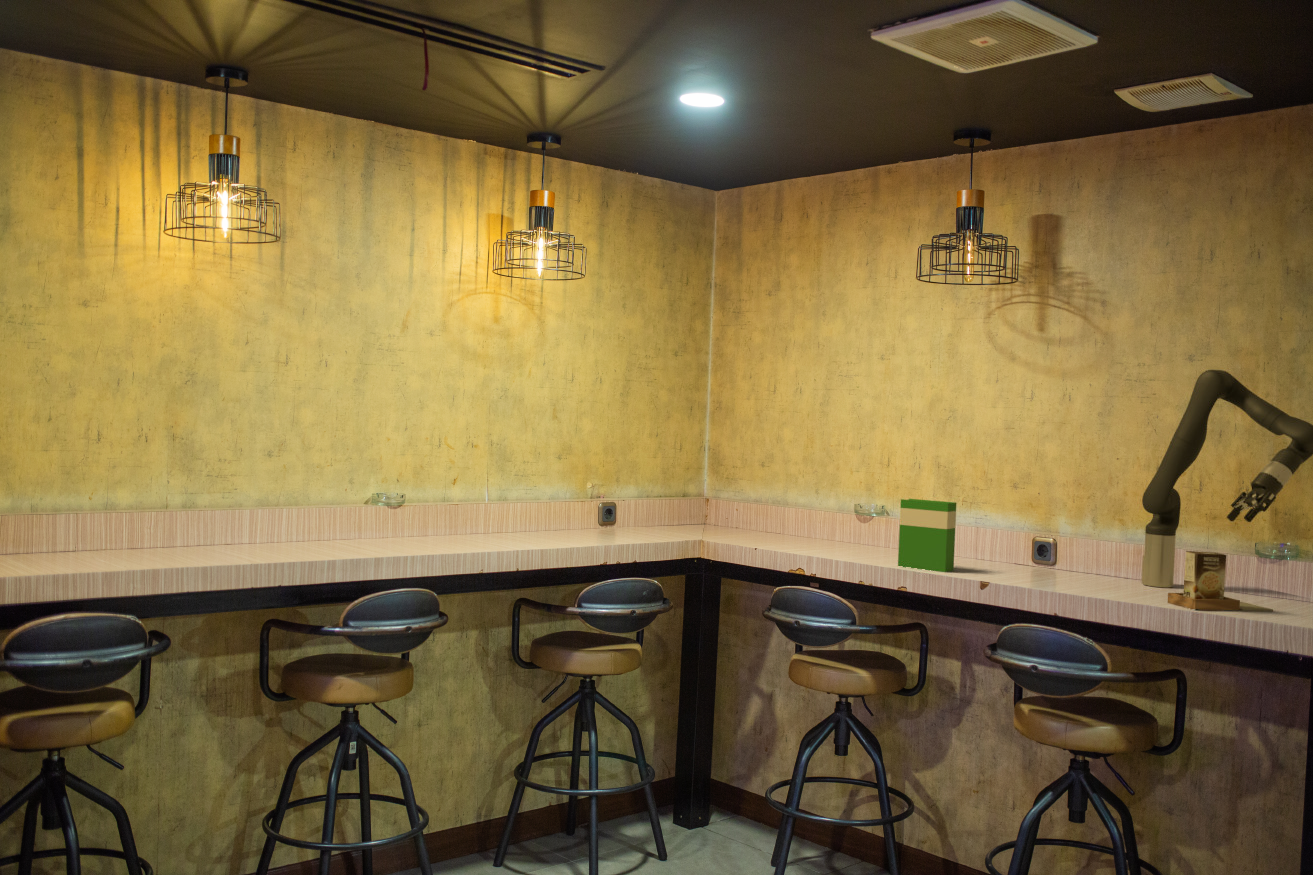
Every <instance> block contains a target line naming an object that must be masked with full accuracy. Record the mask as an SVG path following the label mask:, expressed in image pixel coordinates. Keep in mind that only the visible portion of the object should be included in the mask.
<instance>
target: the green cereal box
mask: <svg viewBox="0 0 1313 875" xmlns="http://www.w3.org/2000/svg"><path fill="white" fill-rule="evenodd" d="M899 508H900V509H899V531H898V532H899V534H898V558H897V567H898V566H903V567H902V568H906V567H911V568H910V569H914V568H917V569H916V570H922V569H925V570H924V571H930V570H931V572H940V573H949V572H953V571H954V569H955V568H954V566H955V548H956V547H955V546H956V545H955V544H956V543H955V541H956V523H957V522H956V521H957V502H955V501H954V502H953V501H943V500H942V501H940V500H929V499H918V498H917V499H916V498H908V499H903V498H902V499H901V498H900V506H899Z"/></svg>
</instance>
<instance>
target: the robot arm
mask: <svg viewBox="0 0 1313 875" xmlns="http://www.w3.org/2000/svg"><path fill="white" fill-rule="evenodd" d="M1218 399H1221V400H1223V401H1226V402H1228V403H1230V404H1232V405H1235V407H1237V408H1239V409H1240V410H1241V411H1243V412H1244V413H1245V414H1246V415H1247V416H1248V417H1249V418H1250V419H1251V420H1252V421H1254V423H1256V424H1258V425H1259V426H1260V427H1262V428H1264V429H1266V430H1267V431H1268V432H1271V433H1272V434H1274V435H1276V436H1282V435H1285V436H1286V437H1289V438H1290V439H1291V442H1290V444H1289V445H1287V447H1286V448H1283V449H1281V450H1279V451H1278V452H1277V453H1276V454H1275V455H1274V457H1273V458H1272V459H1271V460H1270V461H1269V462H1268V463H1267V464H1266V465H1265V466H1264V467H1262V469H1261V471H1260V472H1259V473H1258V474H1257V475H1256V477H1254V479H1253V480H1251V483H1250V487H1251V490H1250V491H1249V492H1248V493H1247V492H1246V491H1242V492H1241V493H1240V494H1239V495H1238V497H1236V499H1234V501H1233V502H1232V503H1231V505H1230V506H1231V507H1232V510H1231V511H1230V512H1229V513H1228V514H1227V515H1226V518H1227V519H1228V521H1230V522H1234V521H1235V520H1237V517H1238V516H1240V514H1241V513H1243V511H1245V510H1248V511H1247V513H1246V514H1245V515H1244V516H1243V519H1244V520H1245V521H1246V523H1247V522H1248V523H1251V522H1252V521H1253V520H1254V519H1255V517H1257V515H1258V514H1260V513H1261V512H1263V513H1264V512H1266V511H1267V510H1268V509H1269V507H1271V505H1273V502H1274V501H1275V500H1276V499H1277V496H1278V495H1279V493H1280V492H1281V491H1282V490H1283V489H1284V487H1285V486H1286V485H1287V484H1288V482H1289V481H1290V479H1291V478H1292V476H1293V475H1294V474H1295V472H1297V471H1298V469H1299V468H1300V466H1301V465H1302V464H1304V463H1305V462H1306V461H1308V459H1309V458H1311V457H1312V456H1313V424H1312V423H1310V422H1308V421H1306V420H1303V419H1301V418H1298V417H1295V416H1291V415H1289V414H1288V413H1287V412H1285V411H1284V410H1281V409H1280V408H1279V407H1277V406H1275V405H1273V404H1272V403H1270V402H1268V401H1266V400H1265V399H1263V398H1261V397H1260V396H1258V395H1257V394H1255V392H1253V391H1251V390H1250V389H1249V388H1247V387H1246V386H1245V385H1244V384H1243V383H1242V382H1240V380H1238V378H1236V377H1234V376H1233V375H1232V374H1231V373H1230V372H1228V371H1226V370H1223V369H1208V370H1205V371H1203V372H1201V374H1199V376H1198V377H1197V379H1196V381H1195V384H1194V387H1193V390H1192V393H1191V395H1190V399H1189V402H1188V404H1187V407H1186V409H1185V411H1184V413H1183V415H1182V417H1181V419H1180V421H1179V424H1178V426H1177V428H1176V430H1175V432H1174V434H1173V435H1172V438H1171V440H1170V442H1169V445H1168V448H1167V449H1166V451H1165V453H1164V455H1163V458H1162V460H1161V462H1160V464H1159V466H1158V468H1157V471H1156V472H1155V474H1154V476H1153V477H1152V479H1151V481H1150V482H1149V483H1148V485H1147V487H1146V489H1145V490H1144V492H1143V494H1142V500H1141V501H1142V502H1141V503H1142V507H1143V509H1144V510H1145V511H1146V512H1147V513H1149V514H1152V518H1151V520H1150V522H1149V523H1147V524H1146V525H1145V531H1144V532H1145V533H1144V534H1145V535H1144V550H1143V552H1144V554H1143V555H1142V561H1141V562H1142V563H1141V565H1142V566H1141V584H1142V585H1144V586H1149V587H1155V588H1173V587H1174V577H1175V576H1174V575H1175V558H1176V556H1175V555H1176V537H1177V536H1176V533H1177V530H1178V527H1179V526H1180V516H1181V505H1182V502H1181V496H1180V493H1179V492H1178V491H1177V489H1176V488H1175V485H1176V483H1177V481H1178V480H1179V478H1180V477H1181V476H1182V475H1183V474H1184V473H1185V472H1186V471H1187V470H1188V469H1189V467H1191V466H1192V464H1193V463H1194V462H1195V461H1196V460H1197V458H1198V456H1199V455H1200V452H1201V450H1202V448H1203V447H1204V444H1205V441H1206V440H1207V433H1208V422H1209V417H1210V414H1211V412H1212V410H1213V408H1214V406H1215V404H1216V403H1217V401H1218Z"/></svg>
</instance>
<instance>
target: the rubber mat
mask: <svg viewBox="0 0 1313 875" xmlns="http://www.w3.org/2000/svg"><path fill="white" fill-rule="evenodd" d="M1241 610H1242V612H1274V609H1273V608H1268V607H1264V606H1260V605H1257V604H1252V603H1249V602H1244V601H1240V610H1239V611H1241Z"/></svg>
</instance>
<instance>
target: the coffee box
mask: <svg viewBox="0 0 1313 875" xmlns="http://www.w3.org/2000/svg"><path fill="white" fill-rule="evenodd" d="M1184 563H1185V564H1184V576H1183V577H1184V578H1183V592H1182V593H1183V596H1186V597H1190V598H1194V599H1222V600H1224V597H1225V586H1226V585H1225V584H1226V582H1225V581H1226V568H1227V567H1226V566H1227V564H1226V563H1227V554H1225V553H1219V552H1214V551H1213V552H1210V551H1194V550H1192V551H1191V550H1185V560H1184Z"/></svg>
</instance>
